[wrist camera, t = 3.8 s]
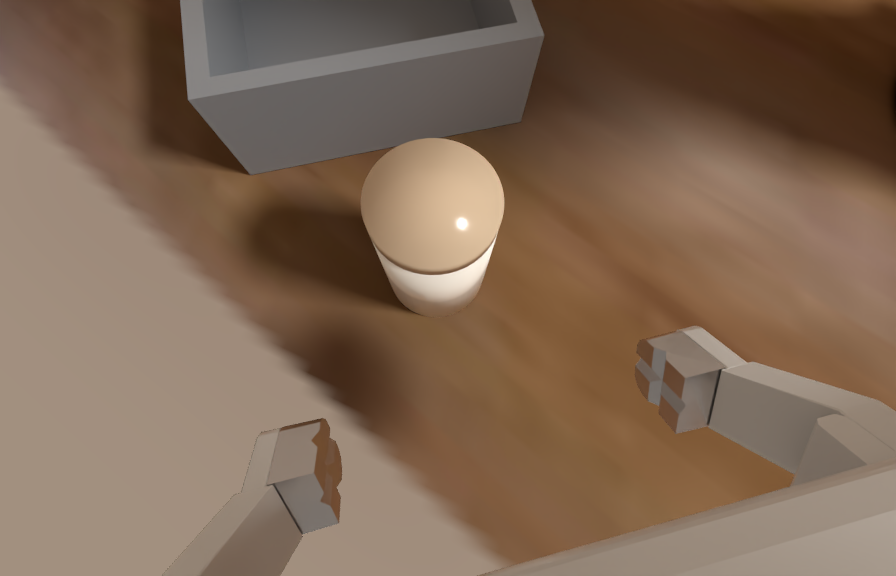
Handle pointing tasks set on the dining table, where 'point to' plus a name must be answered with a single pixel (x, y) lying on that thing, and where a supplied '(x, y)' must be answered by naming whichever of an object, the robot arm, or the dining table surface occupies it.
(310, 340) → the dining table surface
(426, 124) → the tote
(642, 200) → the dining table surface
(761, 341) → the dining table surface
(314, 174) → the dining table surface
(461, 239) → the jar
